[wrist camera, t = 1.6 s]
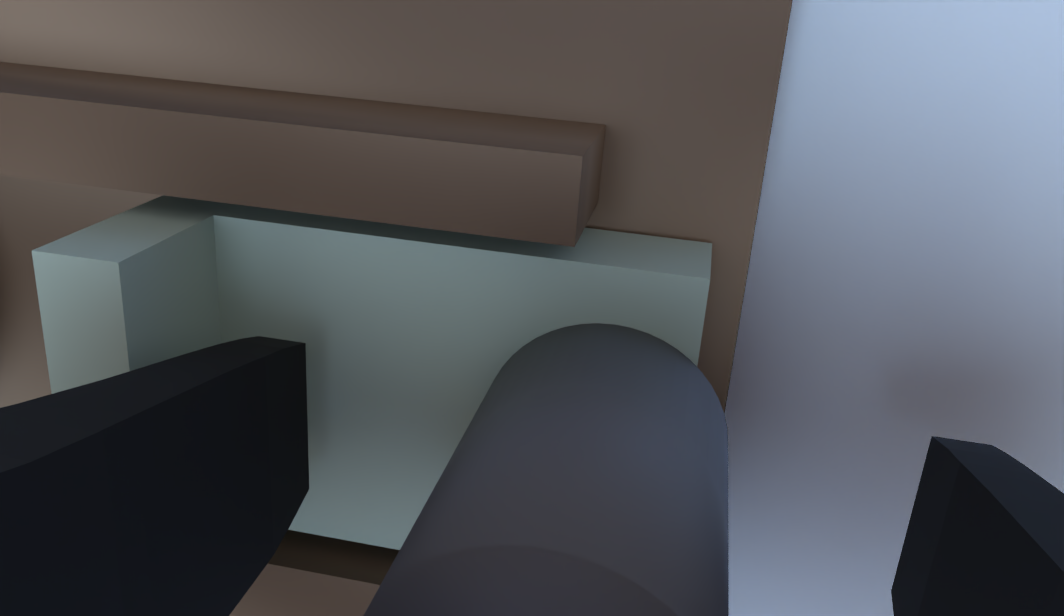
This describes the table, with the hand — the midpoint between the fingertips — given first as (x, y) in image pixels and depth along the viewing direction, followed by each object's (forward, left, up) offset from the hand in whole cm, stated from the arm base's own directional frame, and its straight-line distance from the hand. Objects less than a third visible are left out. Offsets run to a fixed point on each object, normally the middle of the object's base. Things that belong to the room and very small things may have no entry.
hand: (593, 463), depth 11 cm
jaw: (0, +2, -2) cm, 3 cm away
